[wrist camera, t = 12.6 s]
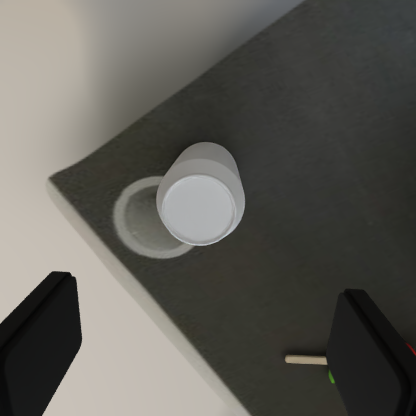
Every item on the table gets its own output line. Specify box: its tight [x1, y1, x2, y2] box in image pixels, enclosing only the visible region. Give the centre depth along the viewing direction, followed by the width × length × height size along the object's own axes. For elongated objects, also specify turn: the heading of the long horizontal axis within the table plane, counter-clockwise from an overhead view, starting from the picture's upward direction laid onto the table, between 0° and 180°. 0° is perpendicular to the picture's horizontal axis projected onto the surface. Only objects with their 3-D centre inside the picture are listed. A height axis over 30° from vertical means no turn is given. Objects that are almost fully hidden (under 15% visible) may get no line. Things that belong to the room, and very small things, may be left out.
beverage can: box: [156, 142, 245, 246], centre depth 26 cm, size 6×6×12 cm
